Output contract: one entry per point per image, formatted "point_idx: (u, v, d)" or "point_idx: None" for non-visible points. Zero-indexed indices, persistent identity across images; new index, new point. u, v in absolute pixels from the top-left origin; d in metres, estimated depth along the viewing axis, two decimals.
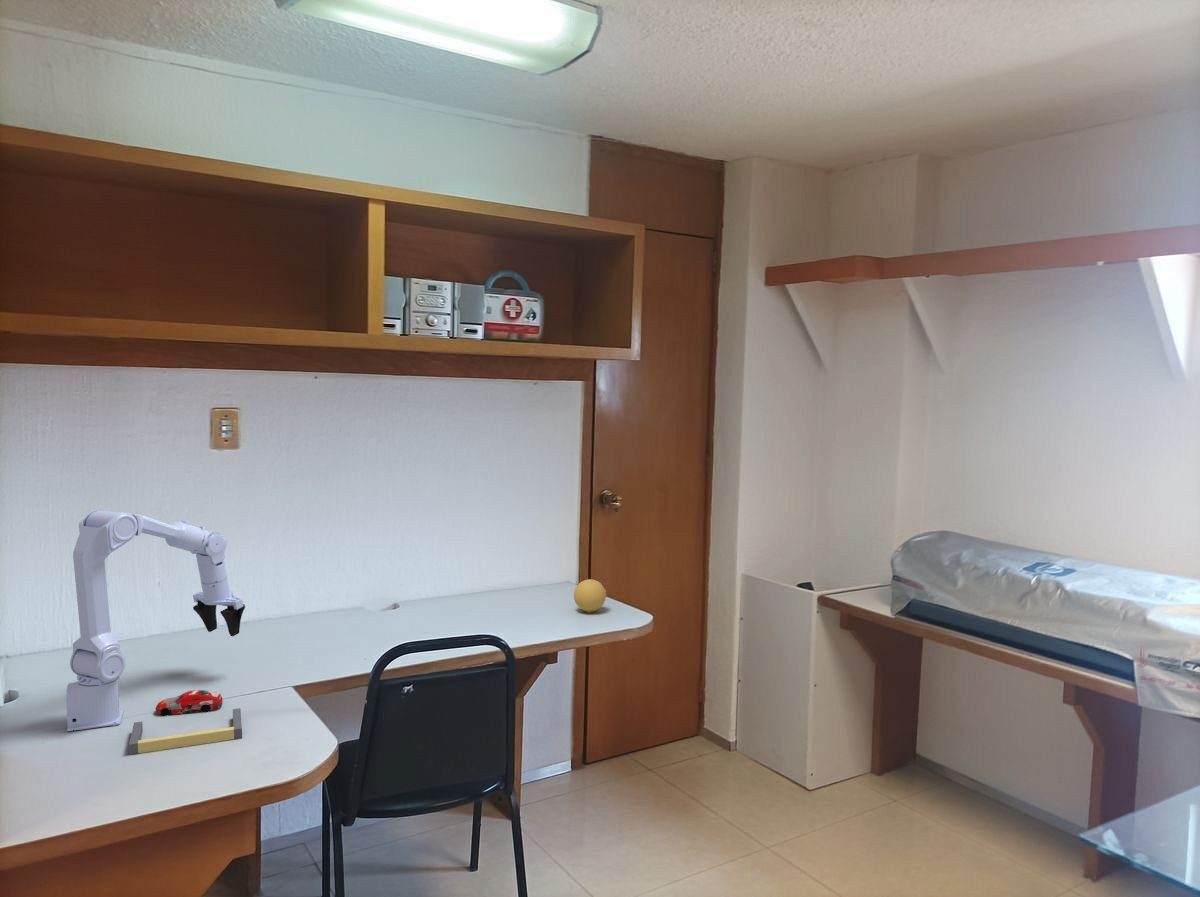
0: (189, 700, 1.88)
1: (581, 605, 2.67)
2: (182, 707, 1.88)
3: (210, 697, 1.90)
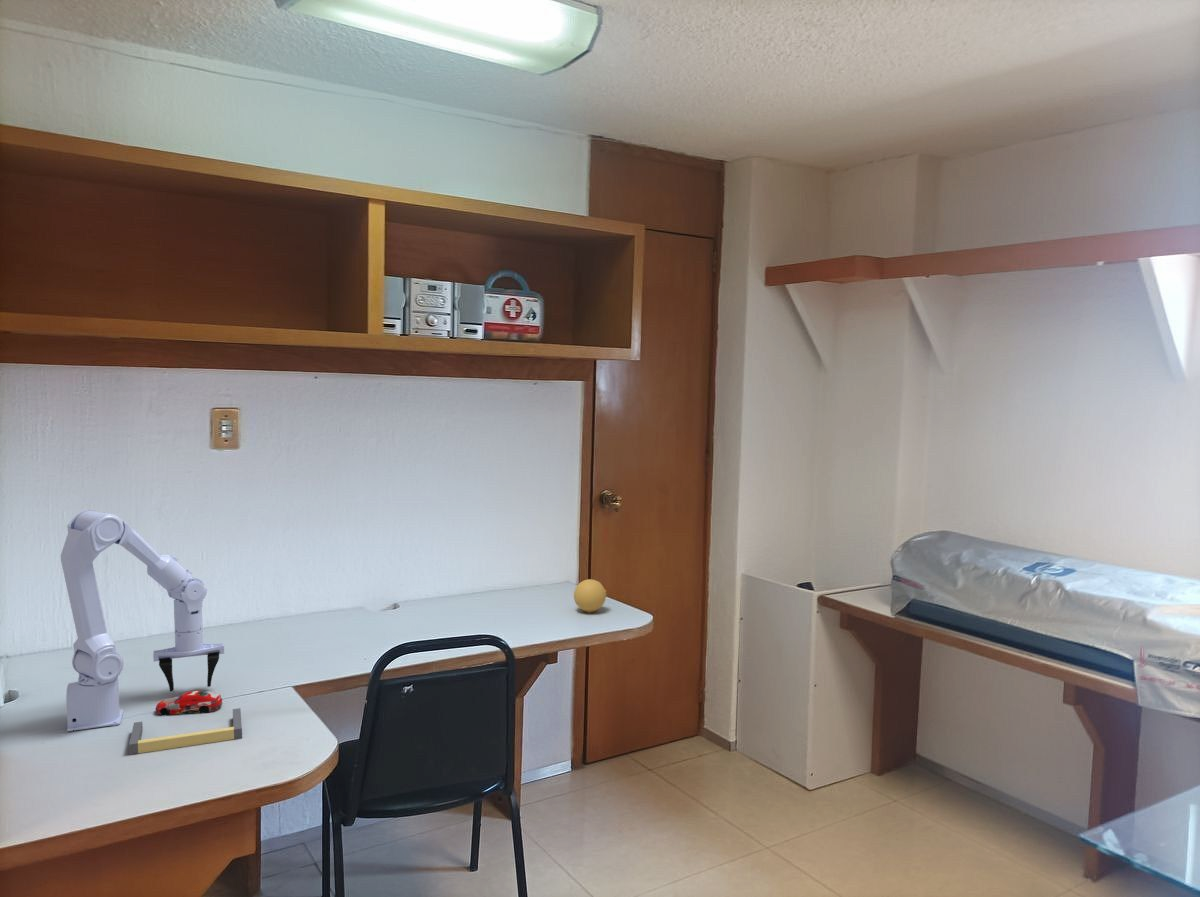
0: (188, 701, 1.88)
1: (581, 605, 2.67)
2: (180, 707, 1.88)
3: (209, 698, 1.89)
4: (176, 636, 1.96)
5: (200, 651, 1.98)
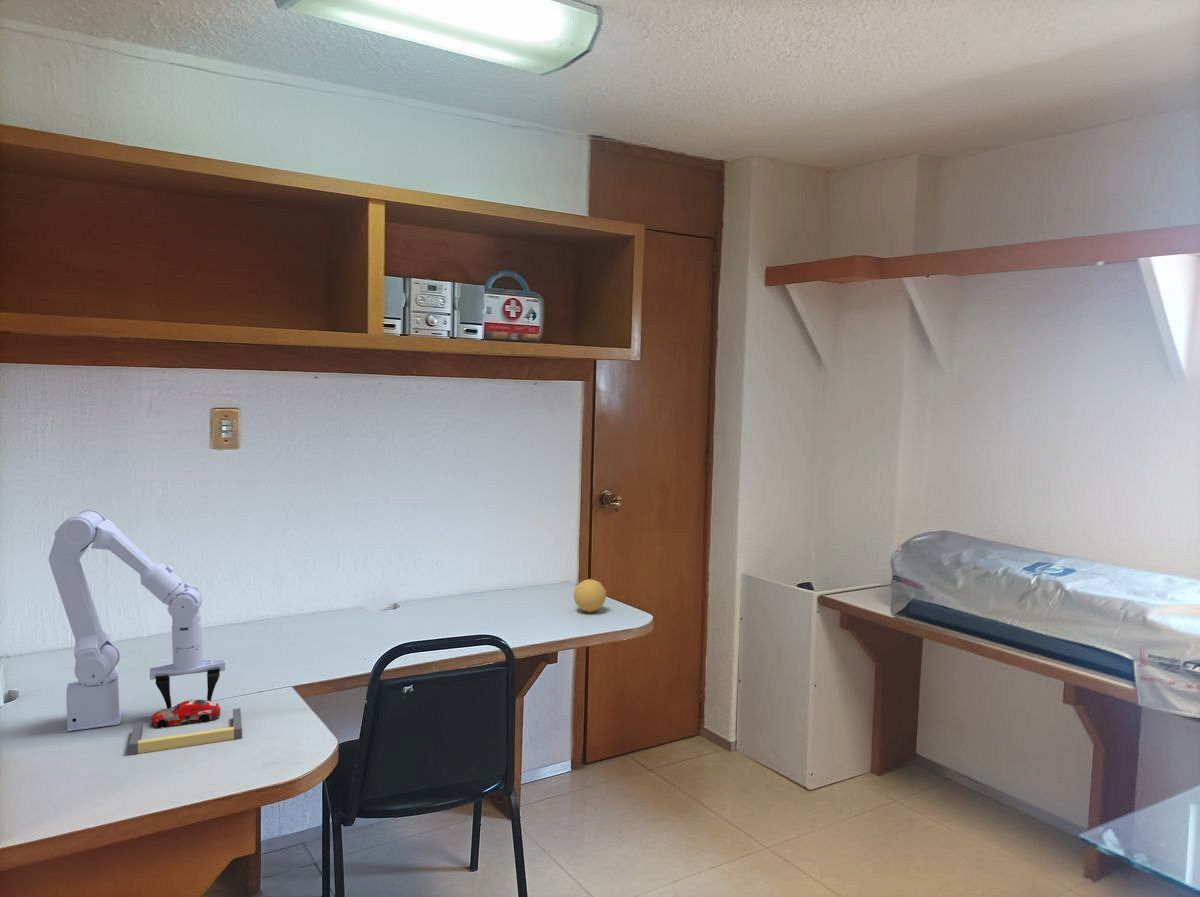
0: (187, 710, 1.83)
1: (581, 605, 2.67)
2: (179, 717, 1.82)
3: (208, 706, 1.84)
4: (174, 653, 1.85)
5: (199, 668, 1.86)
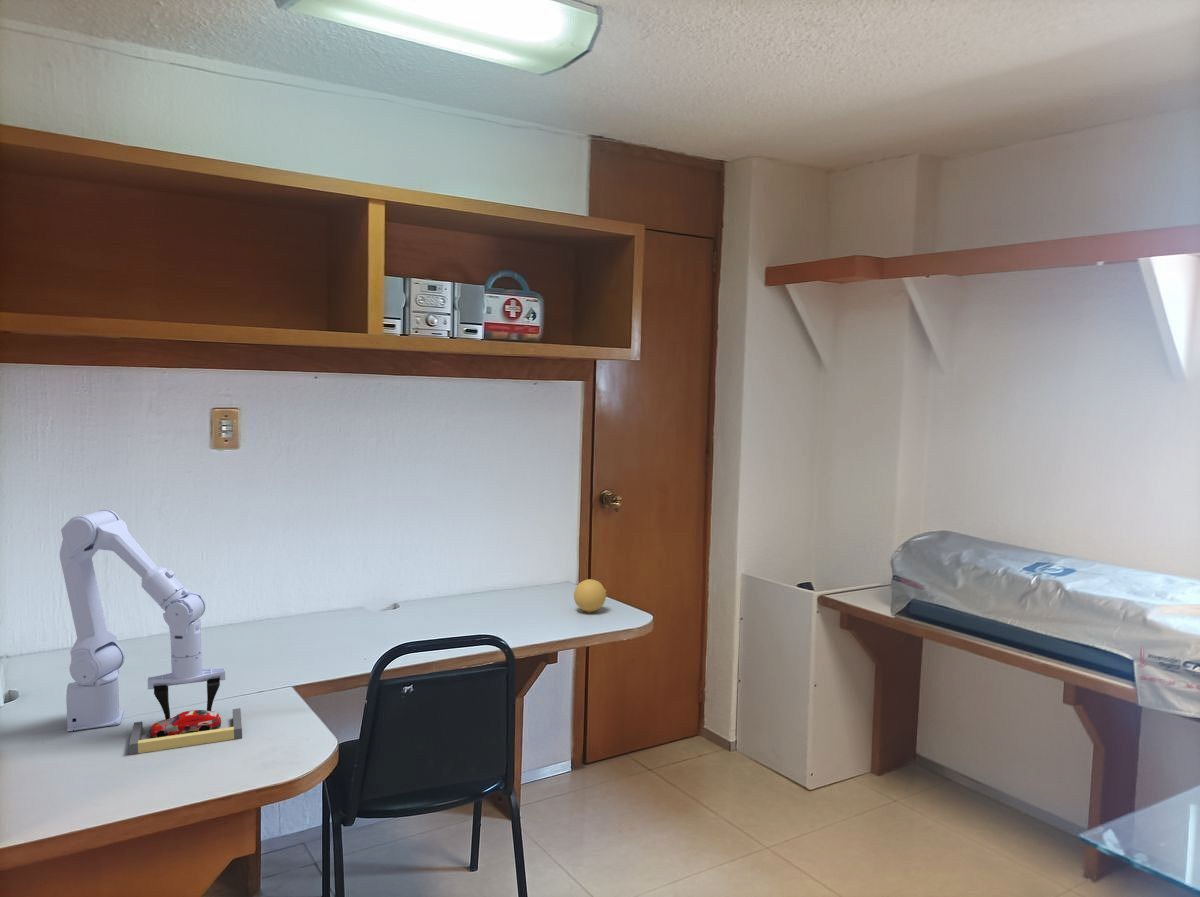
0: (187, 721, 1.77)
1: (581, 605, 2.67)
2: (179, 729, 1.76)
3: (209, 717, 1.79)
4: (173, 661, 1.79)
5: (199, 678, 1.81)
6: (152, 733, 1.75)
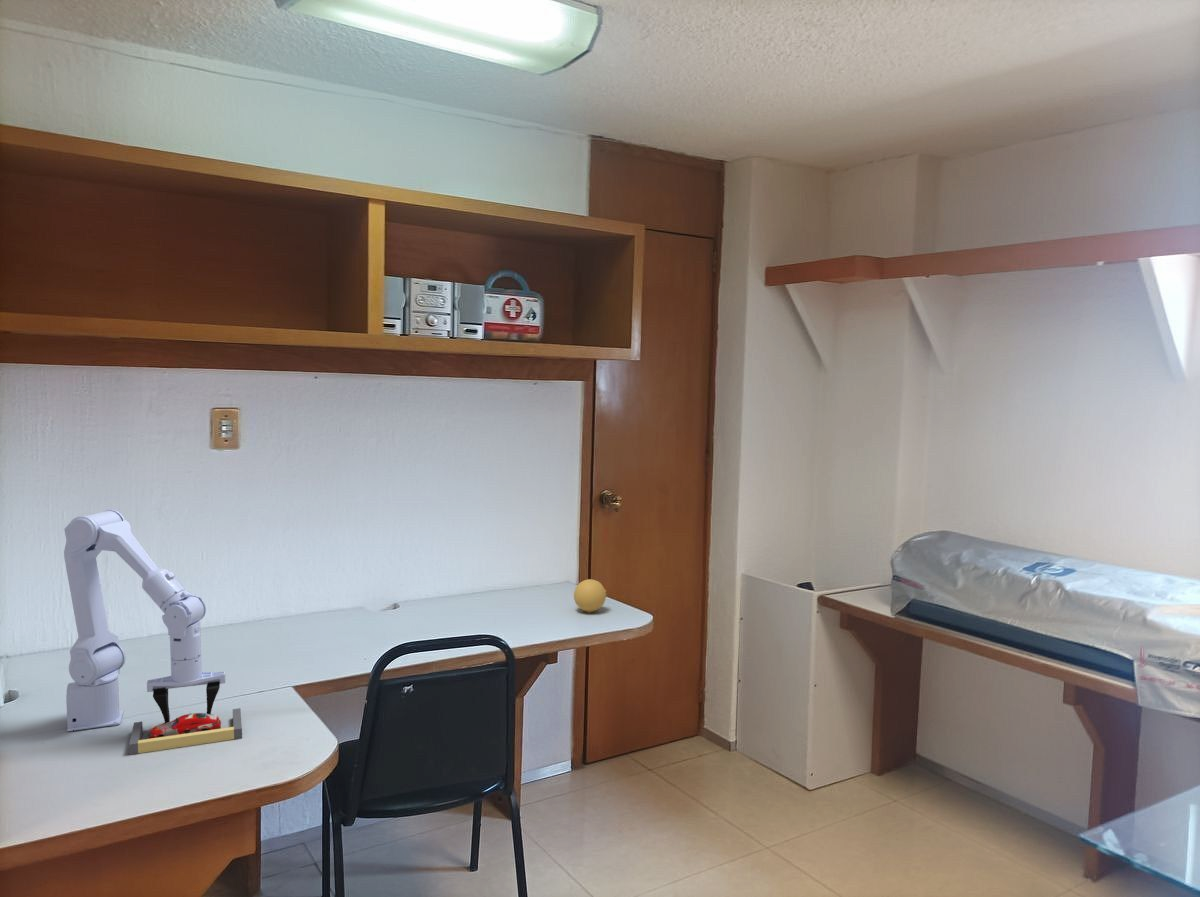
0: (186, 725, 1.75)
1: (581, 605, 2.67)
2: (179, 732, 1.75)
3: (209, 720, 1.77)
4: (172, 664, 1.78)
5: (198, 681, 1.79)
6: (151, 737, 1.73)
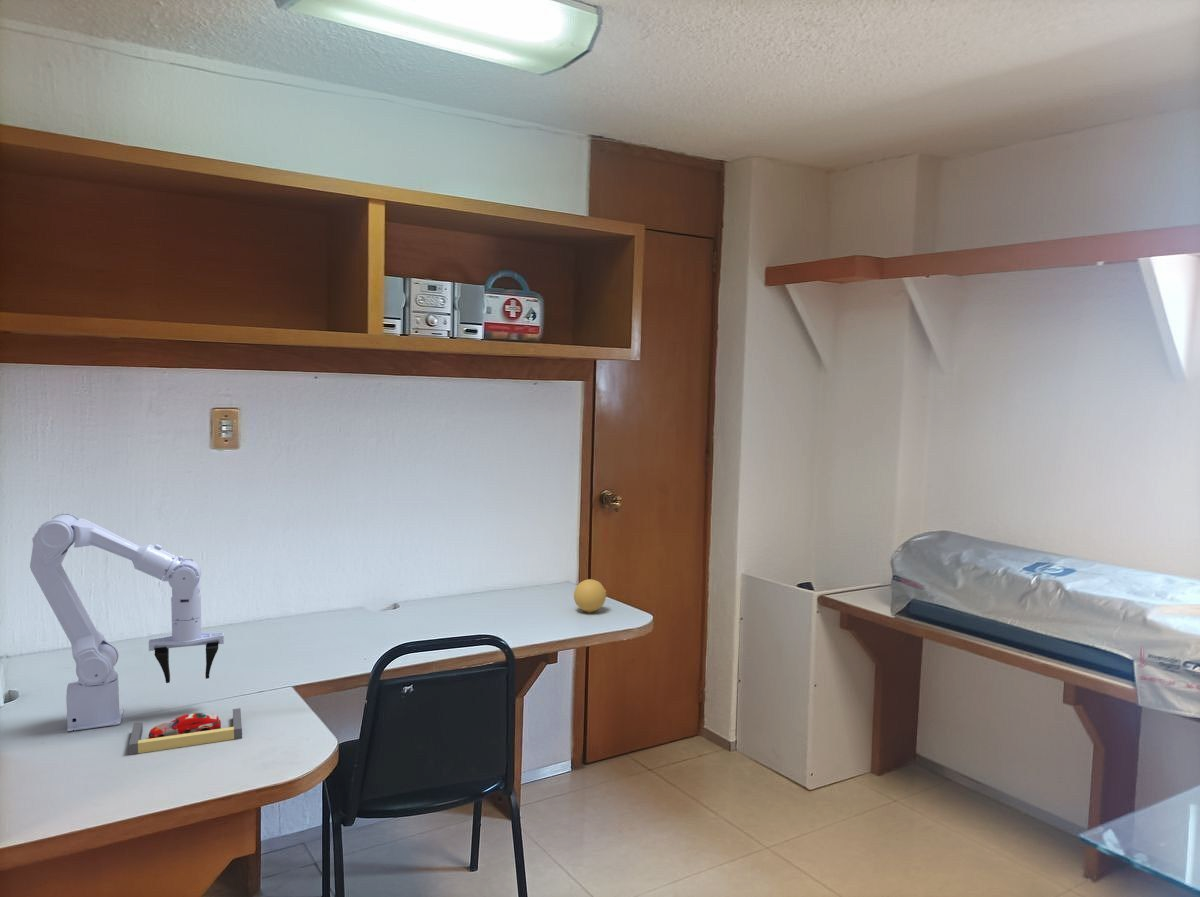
0: (187, 724, 1.75)
1: (581, 605, 2.67)
2: (179, 732, 1.75)
3: (209, 720, 1.78)
4: (173, 624, 1.86)
5: (198, 641, 1.87)
6: (152, 737, 1.73)
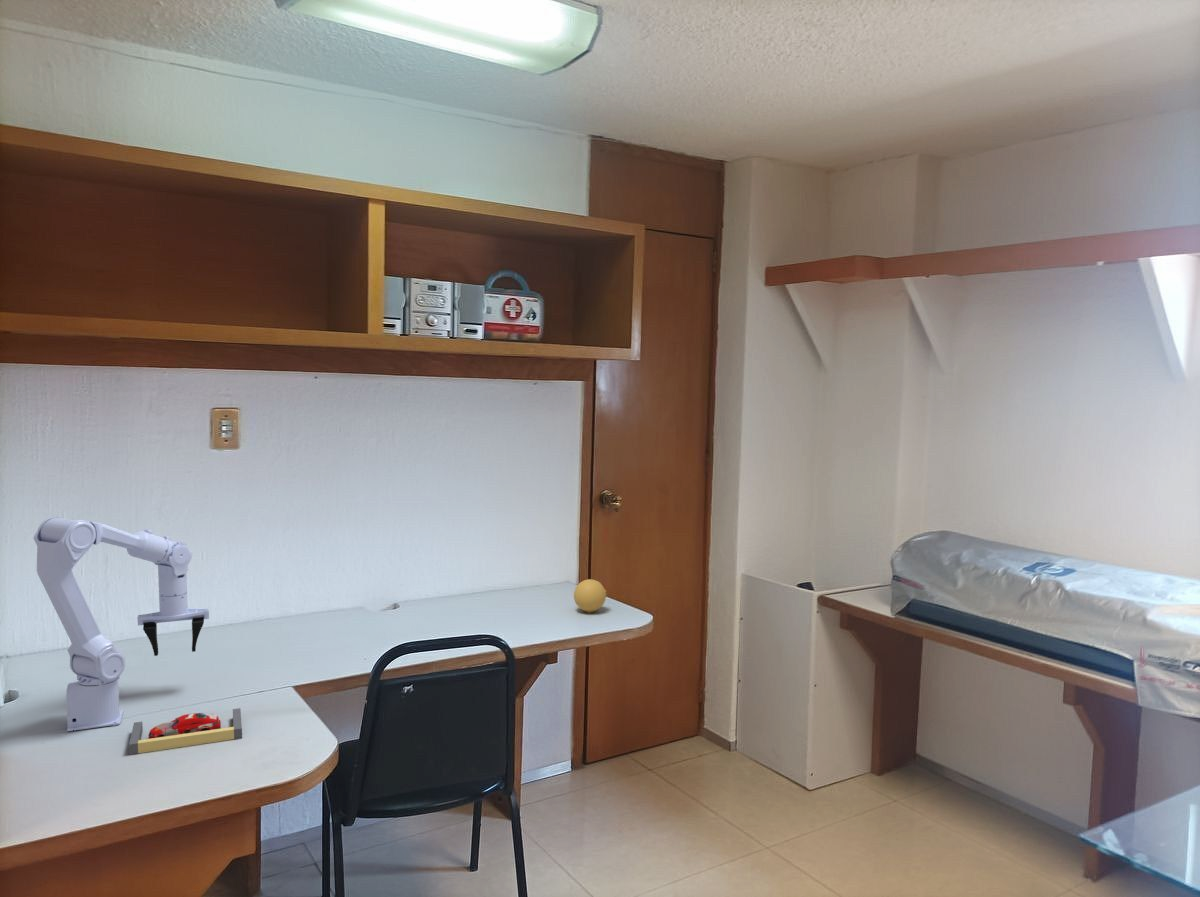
0: (187, 725, 1.75)
1: (581, 605, 2.67)
2: (179, 732, 1.75)
3: (209, 720, 1.77)
4: (160, 600, 1.96)
5: (184, 615, 1.97)
6: (152, 737, 1.73)
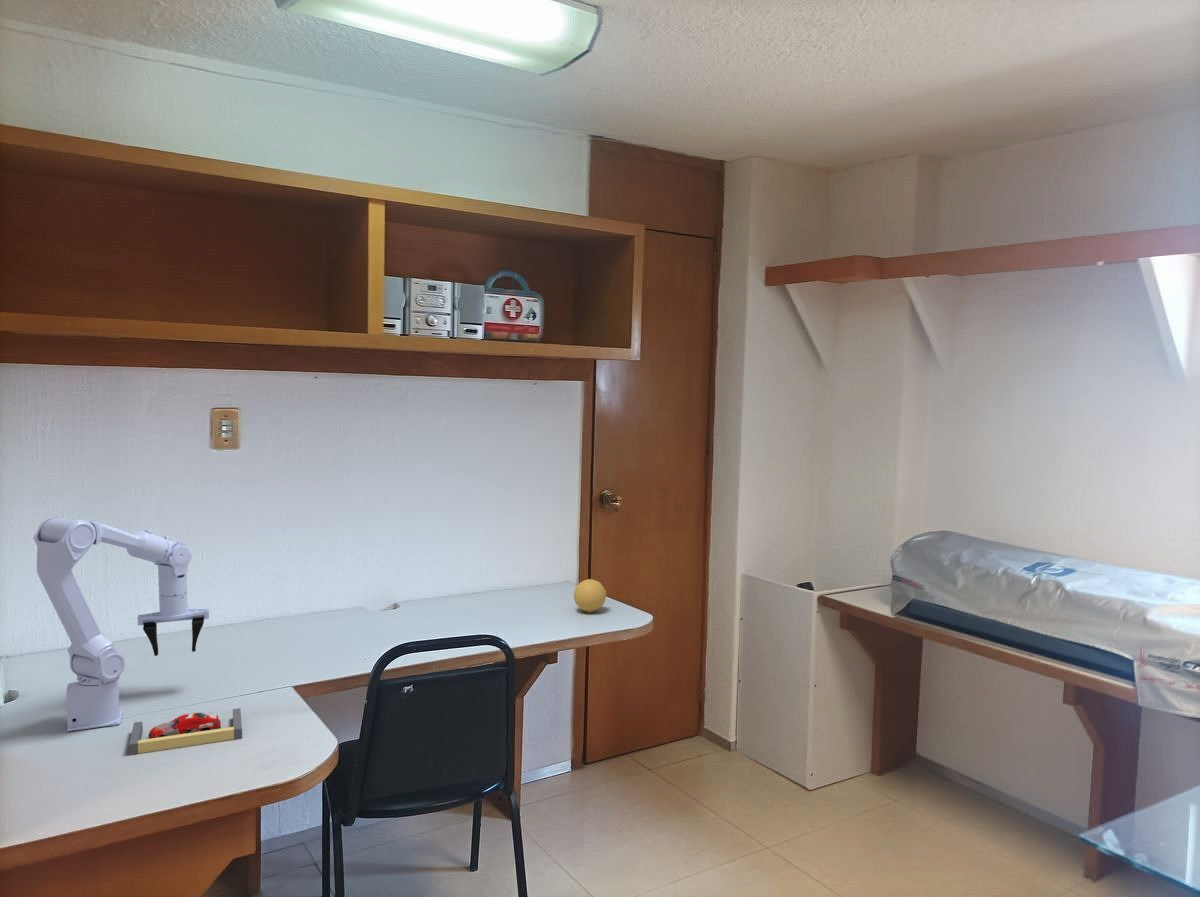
0: (187, 724, 1.76)
1: (581, 605, 2.67)
2: (180, 732, 1.75)
3: (209, 719, 1.78)
4: (160, 600, 1.96)
5: (184, 615, 1.97)
6: None
